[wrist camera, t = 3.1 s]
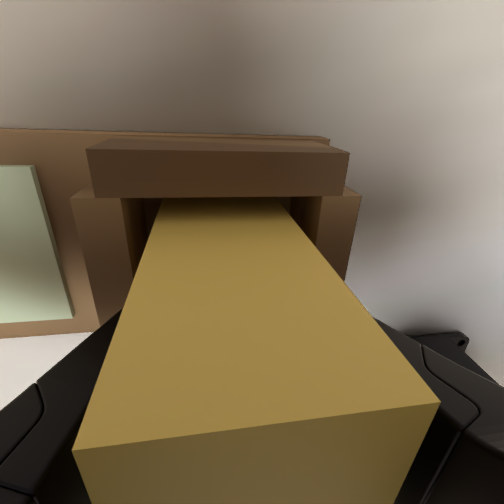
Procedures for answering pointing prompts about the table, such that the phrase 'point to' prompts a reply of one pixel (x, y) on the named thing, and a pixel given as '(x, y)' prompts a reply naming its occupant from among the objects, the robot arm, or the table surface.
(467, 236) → the table surface
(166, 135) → the board
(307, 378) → the block
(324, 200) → the pocket
